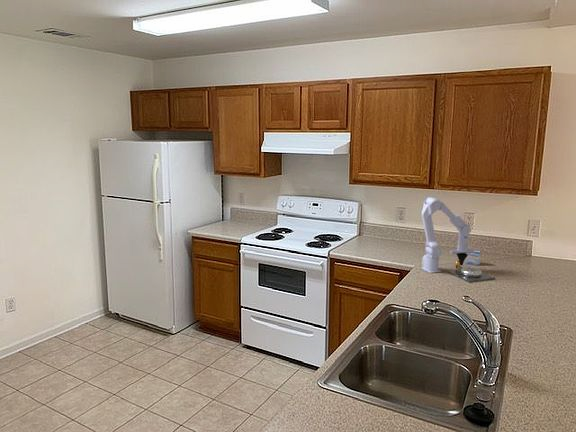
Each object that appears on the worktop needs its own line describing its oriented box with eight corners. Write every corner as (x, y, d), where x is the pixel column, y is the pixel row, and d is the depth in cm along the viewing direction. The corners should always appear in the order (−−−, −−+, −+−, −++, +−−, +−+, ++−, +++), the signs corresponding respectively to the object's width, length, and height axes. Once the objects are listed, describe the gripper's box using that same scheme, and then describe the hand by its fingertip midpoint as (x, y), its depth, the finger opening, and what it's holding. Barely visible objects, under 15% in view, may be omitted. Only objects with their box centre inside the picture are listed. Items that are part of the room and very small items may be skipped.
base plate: (447, 272, 261) (447, 270, 261) (472, 269, 267) (472, 268, 266) (469, 282, 244) (469, 280, 244) (495, 279, 250) (495, 277, 250)
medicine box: (465, 263, 279) (466, 250, 277) (466, 262, 282) (467, 249, 281) (479, 265, 275) (480, 252, 273) (479, 263, 279) (481, 250, 277)
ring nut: (485, 275, 252) (486, 268, 251) (470, 278, 248) (471, 270, 247) (463, 266, 268) (463, 259, 267) (448, 268, 264) (449, 261, 263)
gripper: (469, 240, 268) (468, 262, 270) (448, 241, 265) (446, 263, 268) (476, 243, 261) (474, 265, 264) (454, 244, 258) (452, 267, 261)
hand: (460, 264), depth 265 cm, fingers closed
